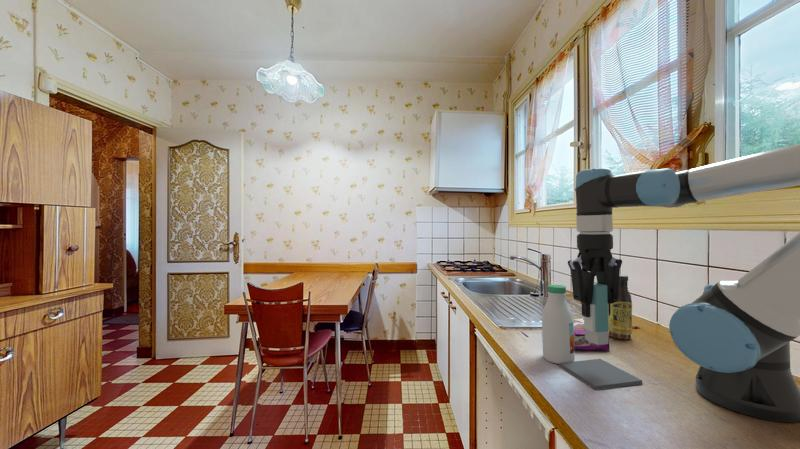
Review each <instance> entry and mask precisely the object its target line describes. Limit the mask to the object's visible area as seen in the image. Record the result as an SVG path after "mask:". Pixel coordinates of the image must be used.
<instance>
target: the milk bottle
mask: <svg viewBox="0 0 800 449" xmlns="http://www.w3.org/2000/svg"><path fill="white" fill-rule="evenodd" d="M546 290H547V292H546V293H547V294H548V296H547V301H546V303H545V305H544V307H543V310H542V315H541V316H542V318H541V319H542V320H541V332H542V333H541V334H542V340H541V341H542V356H543V358H544V359H545V360H546V361H548V362H550V363H552V364H556V365H557V364H558V365H560V363H566V362H575V357H576V356H575V350H574V325H573V318H574V317H573V313H572V310H571V308H570V306H569V305H568V302H567V299H566V295H567V286H565V285H561V284H548V285H547V287H546Z"/></svg>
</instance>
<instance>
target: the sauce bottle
mask: <svg viewBox="0 0 800 449" xmlns="http://www.w3.org/2000/svg"><path fill="white" fill-rule="evenodd" d="M628 282H629V276H628V275H626V274H620V275H619V294H618V299H617V300H615V299H614V301H615V302H614V303H613V304H612V303H610V309H611V314H610V315H609V330H608V335H609V337H612V338H614V339H618V340H630V339H631V338H632V334H633V330H632V329H633V327H632V326H633V302H632V295H631V293H630V291H629V288H628ZM612 294H613V293H612Z"/></svg>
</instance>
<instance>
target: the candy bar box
mask: <svg viewBox="0 0 800 449" xmlns="http://www.w3.org/2000/svg"><path fill="white" fill-rule="evenodd" d="M573 325H574V351H586V352H587V351H592V352H593V351H595V352H596V351H601V352H604V351H606V352H609V351H611V350H610V343H609V344H603V345H596V344H594V343H592V342H590V341H588V340H586V339H585V328H584V317H579V318H578V317H573ZM608 339H609V340H610V335H609V334H608Z"/></svg>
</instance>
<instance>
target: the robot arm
mask: <svg viewBox="0 0 800 449" xmlns="http://www.w3.org/2000/svg"><path fill="white" fill-rule="evenodd" d="M797 186H800V143H796V144H791V145H788V146H783V147H779V148H774V149H770V150H765V151H762V152H759V153H758V152H757V153H753V154H749V155H746V156H744V155H743V156H741V157H740V156H739V157H737V158H732V159H728V160H724V161H720V162H716V163H715V162H714V163H711V164H706V165H703V166H699V167H695V168H690V169H686V170H681V171H677V172H675V170H673V169H671V168H660V169H658V168H657V169H656V168H655V169H654V168H651V169H648V170H642V171H635V172H627V173H622V174H615V175H614V174H612V170H611V169H610V168H607V167H597V168H589V169H582V170H580V171H578V172H577V174H576V176H575V188H574V191H575V204H576V205H575V207H576V218H575V219H576V220H575V222H576V232H578V233H577V235H576V248H577V249H578V254H577V256H576V257H577V258H575V259H574V260H573V259H572V260H570V259H569V260H568V261H567V264H568V265H567V266H568V268H569V270H570V276H571V278H570V279H571V286H572V296H573V300H575V301H578V302H580V303H581V315H582V316H583V319H584V328H585V329H587V330H589V331H592V332H595V304H592V296H593V286H594V282H595V277H596V283H599V284H604V285H607V298H608V331H609V315H610V314H611V309H610V303H612V304H613V303H614V302H615V301H614V299H615V300H617V299H618V294H619V275H621V274H620V272H621V267H622V265H623V260H622V259H620V258H619V259H618V258H615V257H613V254H612V251H611V250H613V248H614V236H613V235H612V232H613V231H614V229H613V228H614V226H613V225H614V224H613V208H616V209H617V208H634V207H635V208H636V207H651V208H652V207H653V208H654V207H657V208H658V207H661V208H667V209H668V208H678V207H679V208H680V207H682V206H684V205H689V204H692V203H693V204H694V203H698V202H699V203H700V202H704V201H711V200H718V199H724V198H729V197H736V196H742V195H743V196H744V195H749V194H754V193H761V192H767V191H772V190H780V189H786V188H792V187H797ZM612 293H613V294H612ZM668 326H669V327H668V328H669V333H670V337H671V340H672V342H673V343H674V345H675V346H676V348H678V351H680V353H682V354H683V356H685V357H686V358H687V359H689V361H692V362H693V363H695V365H696V364H697V365H698V366H699V369H698V371H697V373H696V375H695V389H696V391H697V392H698V393H699V394H700V395H701V396H702V397H704V398H705V399H707V401H708V400H709V401H711V402H712V403H714V404H716V405H718V406H720V407H722V408H726V409H727V410H731V411H734V412H737V413H739V414H742V415H747V416H749V417H753V418H757V419H762V420H766V421H771V422H780V423H800V388H799V386H798V384H797V382H796V380H795V377H794V376H793V374H792V371H791V370H792V369H791V347H790V346H791V343H790V342H792V341H793V340H795V339H797V338H798V337H800V232H797V234H796V235H795V236H793V237H792V238H790V240H788V241H786V242H785V243H783V245H781V246H780V247H779V248H777V249H776V250H775V251H774V252H772V253H771V254H769V256H767V257H765V259H764V260H762V261H761V262H760V263H758V264H757V265H755V266H754V267H753V268H752V269H750V270H749V271H748V272H746V273H745V274H744V275H743V276H742V277H740V278H739V279H736V280H732V279H731V280H730V279H728V280H727V279H721V280H719V281H718V282H716V283H715V284H707V285H705V286H704V287H703V292H702V294H701V295H700V296H699V297H698V298H696V299H695V300H694V301H693V302H691V303H687V304H685V305H682V306H680V307H679V308H678V309H677V310H676V311H675V312H674V313H673V314H672V315H671V318H670V320H669V324H668Z"/></svg>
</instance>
